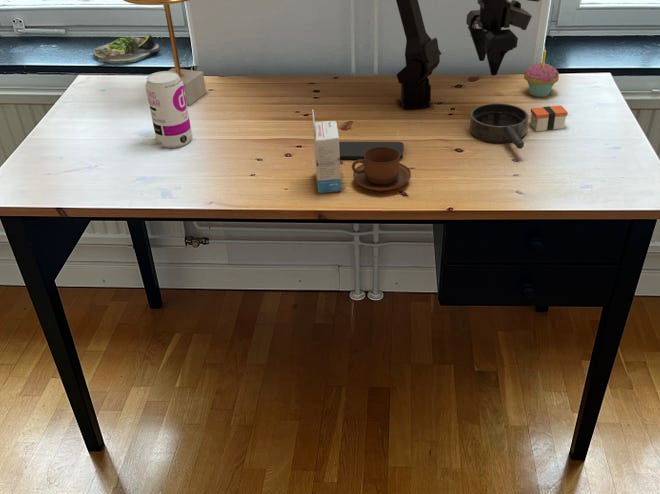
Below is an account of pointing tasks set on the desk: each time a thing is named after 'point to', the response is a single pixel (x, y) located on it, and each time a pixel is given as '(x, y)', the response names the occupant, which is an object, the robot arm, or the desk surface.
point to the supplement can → (168, 109)
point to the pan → (497, 122)
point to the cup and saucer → (381, 170)
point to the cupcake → (541, 78)
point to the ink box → (327, 156)
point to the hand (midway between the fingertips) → (487, 67)
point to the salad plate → (127, 50)
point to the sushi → (548, 118)
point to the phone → (365, 148)
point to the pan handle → (514, 137)
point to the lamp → (190, 78)
